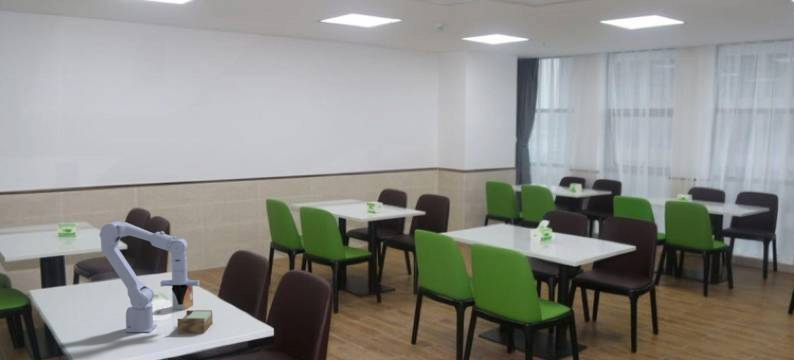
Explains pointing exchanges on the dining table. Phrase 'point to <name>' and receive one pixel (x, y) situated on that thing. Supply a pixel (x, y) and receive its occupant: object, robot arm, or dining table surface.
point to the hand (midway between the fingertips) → (180, 304)
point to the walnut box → (194, 323)
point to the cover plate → (199, 315)
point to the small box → (187, 299)
